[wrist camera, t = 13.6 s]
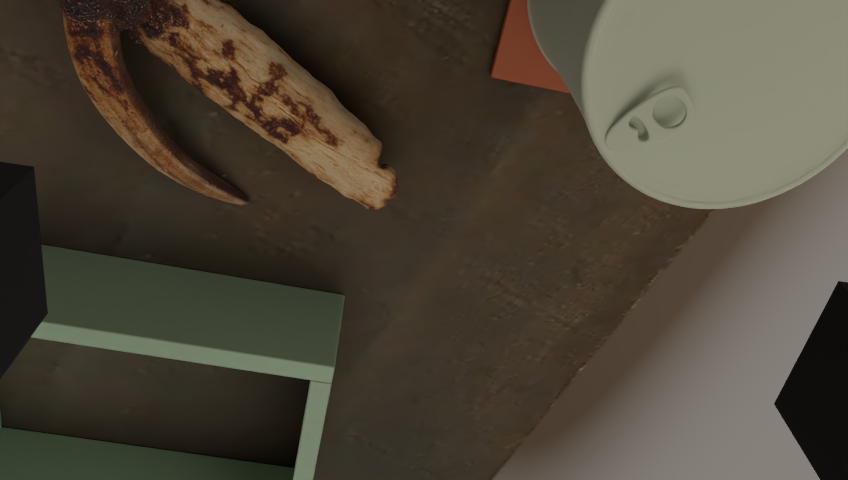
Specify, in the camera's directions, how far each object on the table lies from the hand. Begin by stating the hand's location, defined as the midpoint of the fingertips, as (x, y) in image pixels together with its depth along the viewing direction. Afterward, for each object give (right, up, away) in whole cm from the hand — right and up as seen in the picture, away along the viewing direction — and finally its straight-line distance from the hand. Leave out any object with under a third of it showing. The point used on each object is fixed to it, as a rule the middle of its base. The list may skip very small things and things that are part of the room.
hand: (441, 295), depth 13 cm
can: (+9, +12, +19) cm, 24 cm away
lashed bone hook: (-10, +8, +21) cm, 25 cm away
